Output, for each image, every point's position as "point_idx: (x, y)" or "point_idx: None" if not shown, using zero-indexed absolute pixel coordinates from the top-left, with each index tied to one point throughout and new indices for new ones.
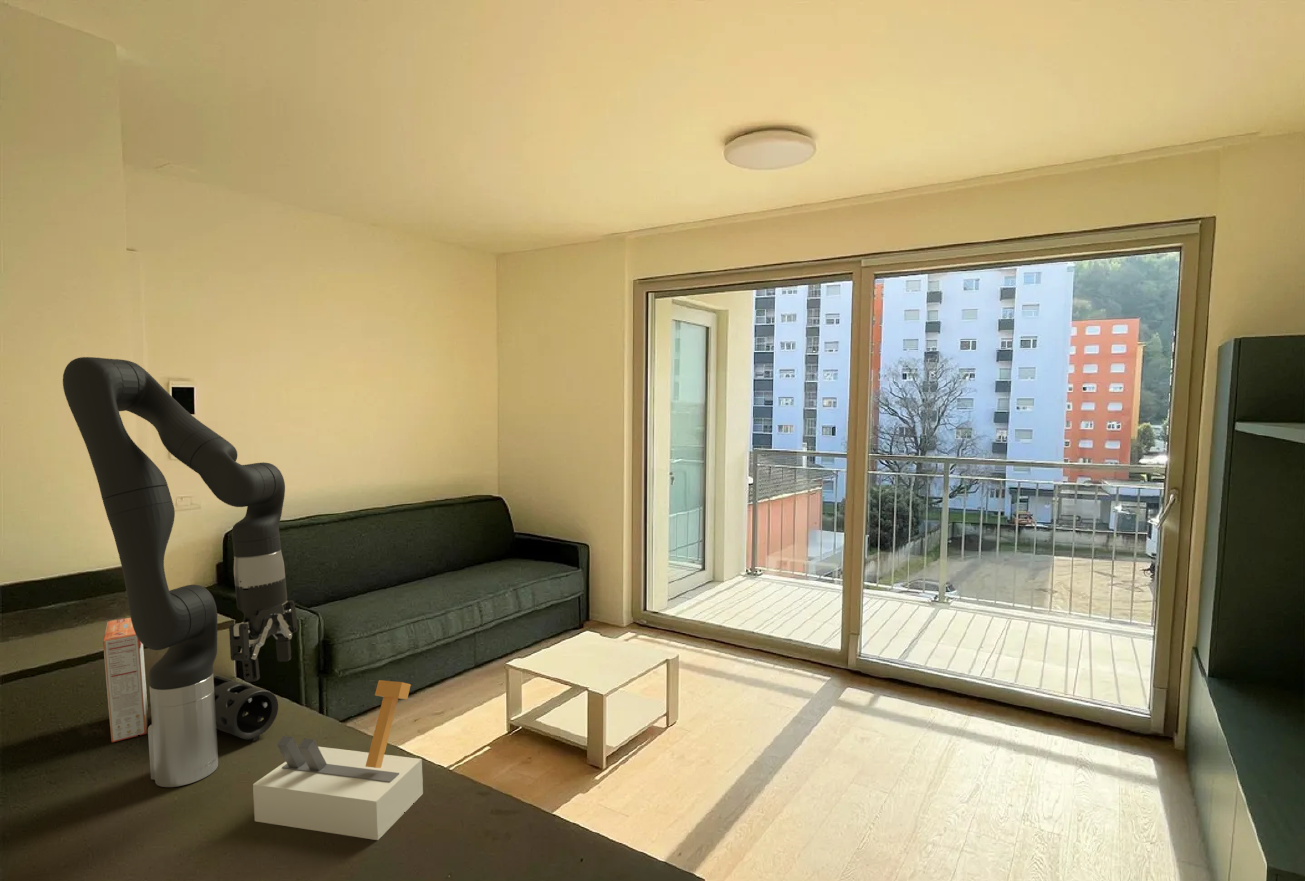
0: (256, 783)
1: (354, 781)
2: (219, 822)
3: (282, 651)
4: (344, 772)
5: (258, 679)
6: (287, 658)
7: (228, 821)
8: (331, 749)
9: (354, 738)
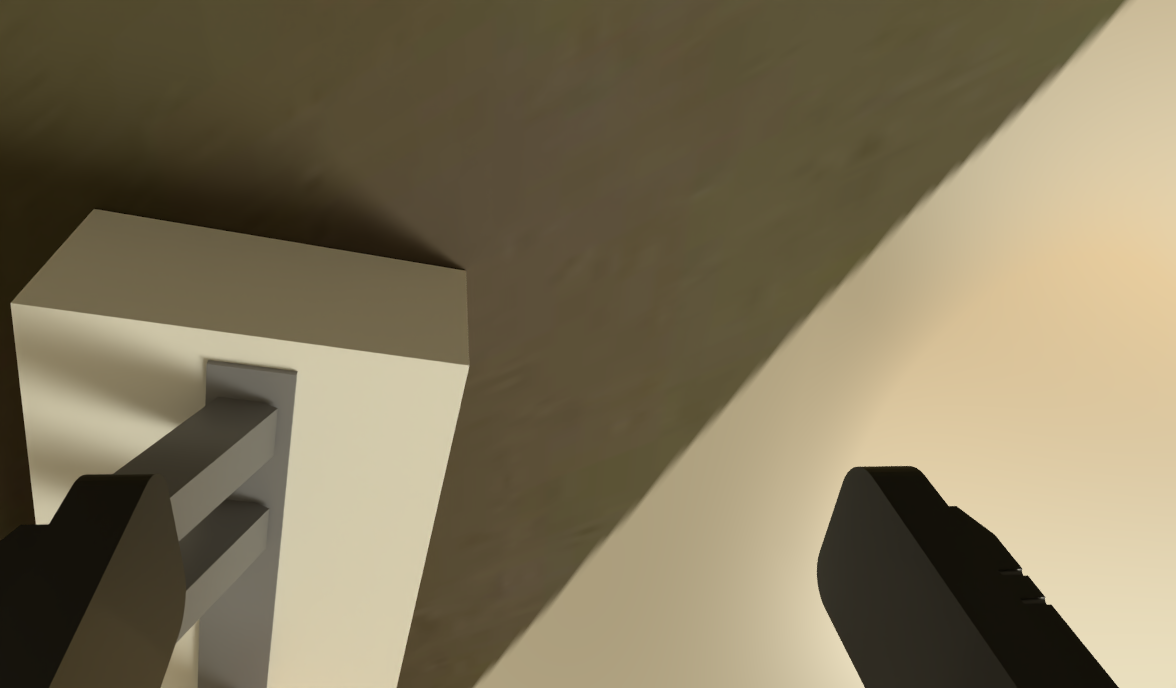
0: (26, 315)
1: (173, 675)
2: (33, 29)
3: (900, 634)
4: (223, 626)
5: (177, 595)
6: (833, 595)
7: (56, 74)
8: (429, 486)
9: (825, 290)
